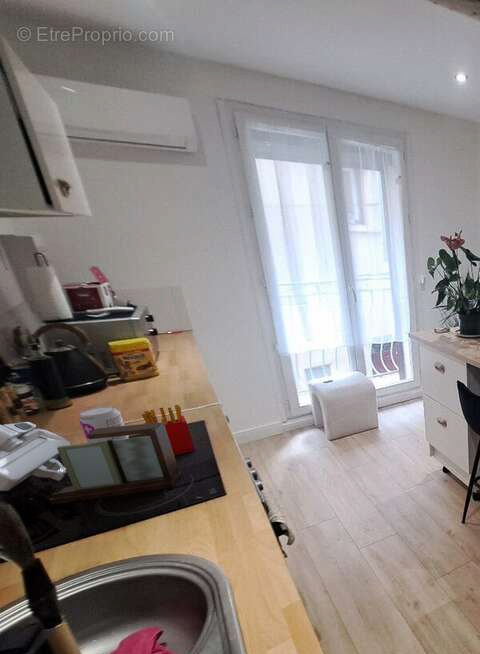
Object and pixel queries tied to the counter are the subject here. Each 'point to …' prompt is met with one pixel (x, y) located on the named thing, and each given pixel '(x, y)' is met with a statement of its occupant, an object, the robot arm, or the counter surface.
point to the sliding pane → (90, 465)
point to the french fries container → (173, 429)
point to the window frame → (132, 463)
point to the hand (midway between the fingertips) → (65, 475)
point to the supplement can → (101, 422)
